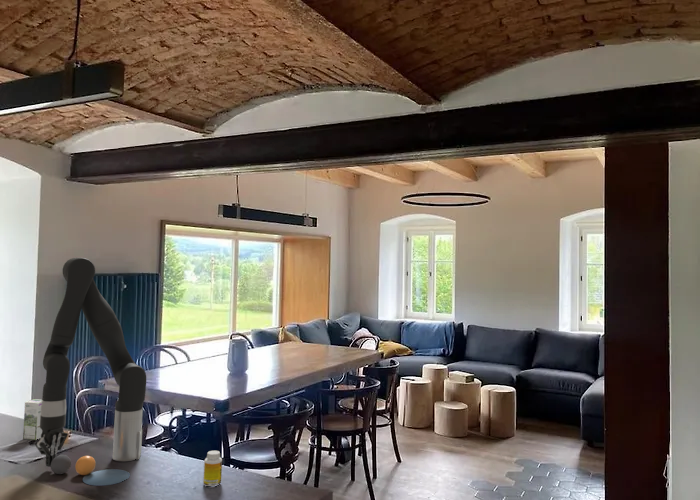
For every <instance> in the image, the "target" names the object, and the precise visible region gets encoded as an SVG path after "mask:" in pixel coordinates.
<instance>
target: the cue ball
mask: <svg viewBox="0 0 700 500" xmlns="http://www.w3.org/2000/svg"><path fill="white" fill-rule="evenodd" d="M71 465H72V460H71V458H70V457H69V456H68V455H67V454H59V455H56V457H55V458H54V459H53V460H52V462H51V467H50V469H51V471H52V472H53V473H54V474H55V475H63V474H65V473H67V472H68V471H69V470H70V469H71Z"/></svg>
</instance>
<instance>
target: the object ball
mask: <svg viewBox="0 0 700 500" xmlns="http://www.w3.org/2000/svg"><path fill="white" fill-rule="evenodd" d="M95 469H96V460H95V458H94V457H93V456H90V455H84V456H81V457H79V458H78V459H77V461H76V463H75V472H76V473H77V474H79V475H81V476H86V475H88V474H90V473H92V472H94V470H95Z"/></svg>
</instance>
